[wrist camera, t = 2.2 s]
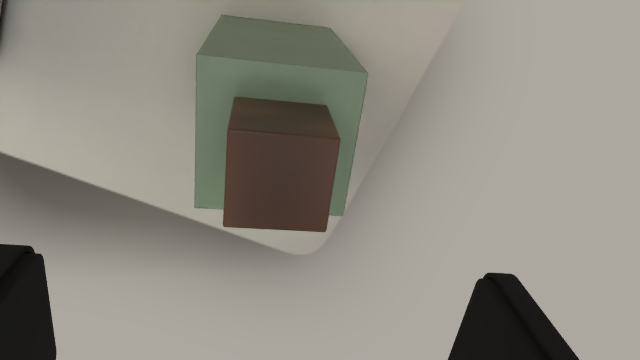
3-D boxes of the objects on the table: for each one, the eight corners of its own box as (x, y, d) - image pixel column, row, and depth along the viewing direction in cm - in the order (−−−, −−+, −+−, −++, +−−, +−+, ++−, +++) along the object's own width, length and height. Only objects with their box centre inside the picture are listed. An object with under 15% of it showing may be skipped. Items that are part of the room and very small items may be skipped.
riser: (330, 27, 34) (368, 72, 22) (317, 128, 38) (343, 216, 25) (221, 14, 33) (195, 54, 21) (217, 120, 37) (194, 208, 24)
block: (327, 104, 22) (341, 138, 18) (316, 186, 24) (326, 232, 20) (233, 95, 22) (227, 128, 18) (229, 180, 24) (222, 227, 20)
